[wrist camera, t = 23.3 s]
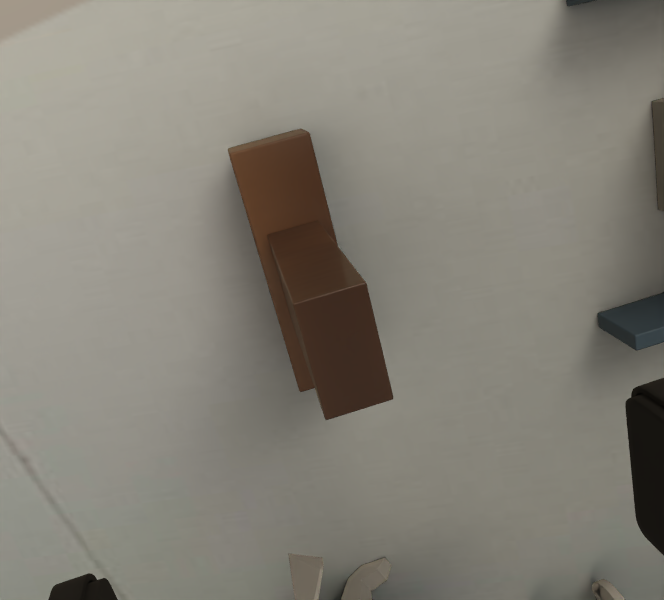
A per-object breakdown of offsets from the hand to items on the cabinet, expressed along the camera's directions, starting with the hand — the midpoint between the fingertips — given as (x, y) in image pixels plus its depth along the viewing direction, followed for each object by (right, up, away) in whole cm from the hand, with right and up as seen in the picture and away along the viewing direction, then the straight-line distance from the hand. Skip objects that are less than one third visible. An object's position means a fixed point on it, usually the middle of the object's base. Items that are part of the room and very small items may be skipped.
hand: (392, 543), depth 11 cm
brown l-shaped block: (-3, +6, +16) cm, 18 cm away
